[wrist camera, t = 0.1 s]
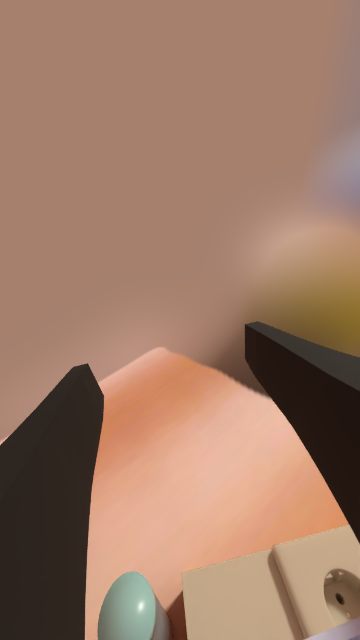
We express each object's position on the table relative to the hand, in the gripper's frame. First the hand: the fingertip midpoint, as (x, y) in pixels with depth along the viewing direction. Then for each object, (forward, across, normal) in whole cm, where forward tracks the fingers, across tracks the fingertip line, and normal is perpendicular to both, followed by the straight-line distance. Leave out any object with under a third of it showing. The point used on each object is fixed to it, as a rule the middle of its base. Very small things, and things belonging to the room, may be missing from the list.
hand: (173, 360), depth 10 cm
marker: (-5, +6, +21) cm, 23 cm away
